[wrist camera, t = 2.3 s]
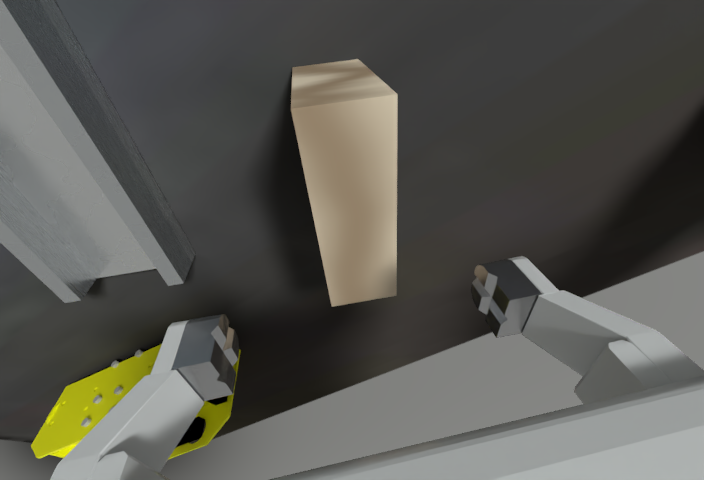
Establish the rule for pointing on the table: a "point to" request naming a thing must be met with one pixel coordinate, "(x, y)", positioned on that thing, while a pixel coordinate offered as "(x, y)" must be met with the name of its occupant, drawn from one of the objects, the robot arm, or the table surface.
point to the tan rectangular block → (350, 174)
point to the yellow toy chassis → (104, 394)
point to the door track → (73, 166)
